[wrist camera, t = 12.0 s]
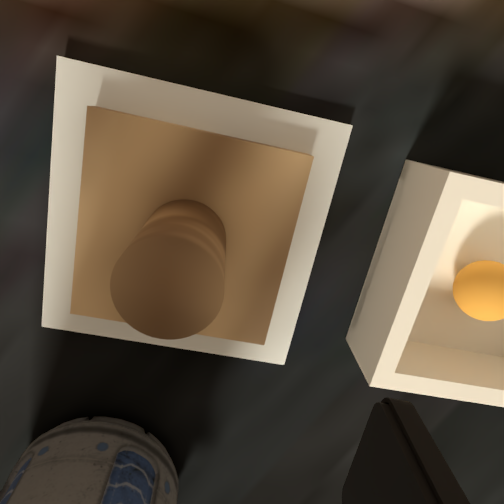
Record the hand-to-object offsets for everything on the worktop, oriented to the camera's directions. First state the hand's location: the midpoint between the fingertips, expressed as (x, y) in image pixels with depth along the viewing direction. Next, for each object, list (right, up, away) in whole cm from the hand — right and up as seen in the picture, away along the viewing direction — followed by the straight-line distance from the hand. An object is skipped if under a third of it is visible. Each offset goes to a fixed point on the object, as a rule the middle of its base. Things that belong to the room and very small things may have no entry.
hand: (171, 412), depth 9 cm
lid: (-1, +5, +12) cm, 13 cm away
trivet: (-2, +5, +12) cm, 14 cm away
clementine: (+14, +2, +13) cm, 20 cm away
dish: (+14, +2, +14) cm, 20 cm away
